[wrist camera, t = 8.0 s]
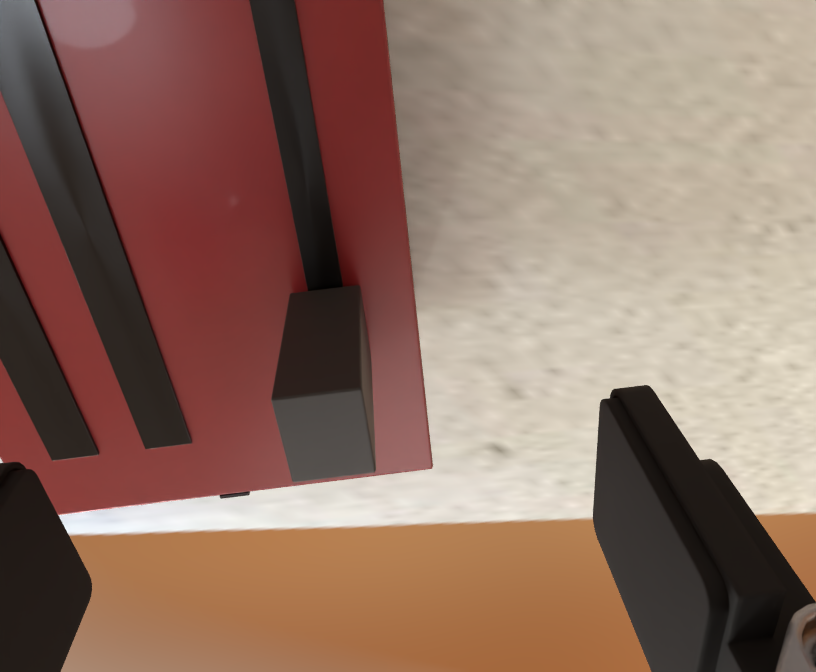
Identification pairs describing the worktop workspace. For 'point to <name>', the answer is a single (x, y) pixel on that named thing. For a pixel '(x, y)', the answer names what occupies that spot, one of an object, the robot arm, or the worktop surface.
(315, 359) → the slider
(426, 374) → the worktop surface
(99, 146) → the toaster
